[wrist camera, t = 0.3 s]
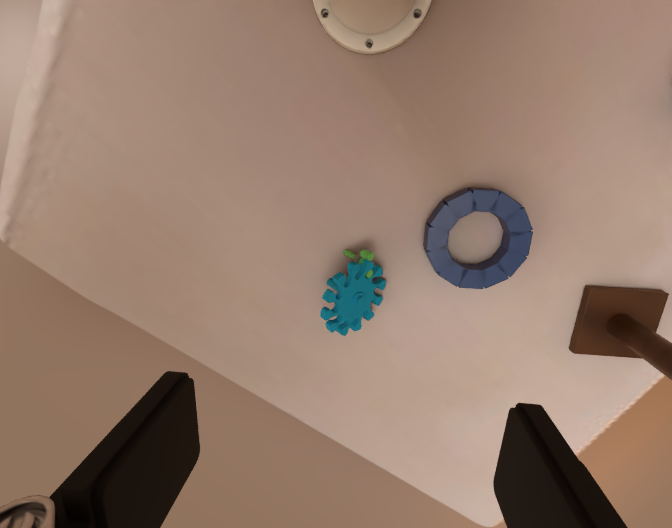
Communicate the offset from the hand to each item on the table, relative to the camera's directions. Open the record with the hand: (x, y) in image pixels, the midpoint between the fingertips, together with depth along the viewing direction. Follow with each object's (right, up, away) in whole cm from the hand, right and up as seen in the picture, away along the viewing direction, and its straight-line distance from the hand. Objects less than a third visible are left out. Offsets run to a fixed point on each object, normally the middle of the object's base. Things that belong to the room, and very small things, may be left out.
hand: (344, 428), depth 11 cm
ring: (+17, +8, +34) cm, 39 cm away
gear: (+3, +2, +37) cm, 37 cm away
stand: (+35, -2, +35) cm, 50 cm away
